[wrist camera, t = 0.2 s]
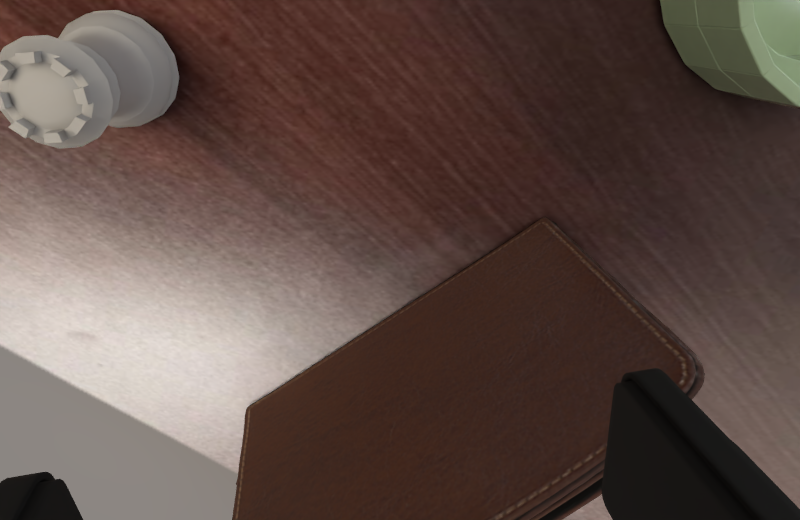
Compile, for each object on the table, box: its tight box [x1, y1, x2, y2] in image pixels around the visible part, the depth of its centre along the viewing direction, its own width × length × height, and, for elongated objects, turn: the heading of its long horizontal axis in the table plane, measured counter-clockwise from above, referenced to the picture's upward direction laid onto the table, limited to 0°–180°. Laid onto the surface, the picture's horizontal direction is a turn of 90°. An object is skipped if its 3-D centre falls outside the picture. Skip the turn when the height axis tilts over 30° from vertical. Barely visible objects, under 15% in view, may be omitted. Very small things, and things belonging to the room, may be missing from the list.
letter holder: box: [232, 217, 705, 520], centre depth 25 cm, size 10×20×14 cm, turn 123°
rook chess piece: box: [0, 10, 179, 148], centre depth 19 cm, size 4×4×8 cm
